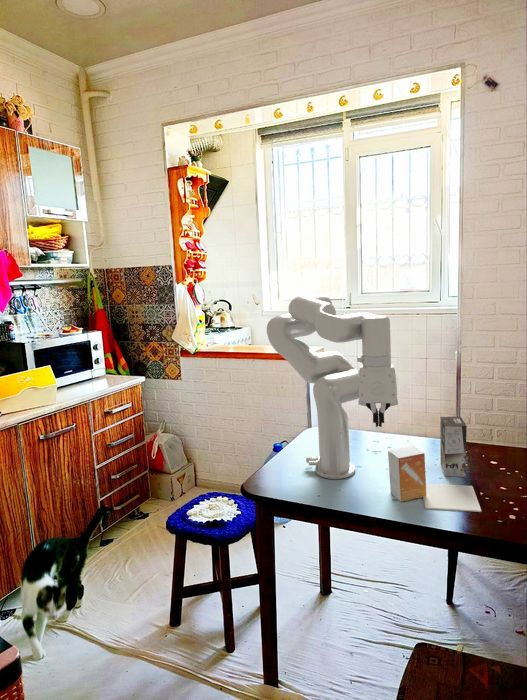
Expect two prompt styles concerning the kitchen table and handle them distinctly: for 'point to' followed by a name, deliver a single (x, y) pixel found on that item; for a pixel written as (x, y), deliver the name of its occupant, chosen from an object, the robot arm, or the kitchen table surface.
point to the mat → (451, 498)
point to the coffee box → (453, 446)
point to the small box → (407, 473)
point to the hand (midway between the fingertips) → (378, 425)
